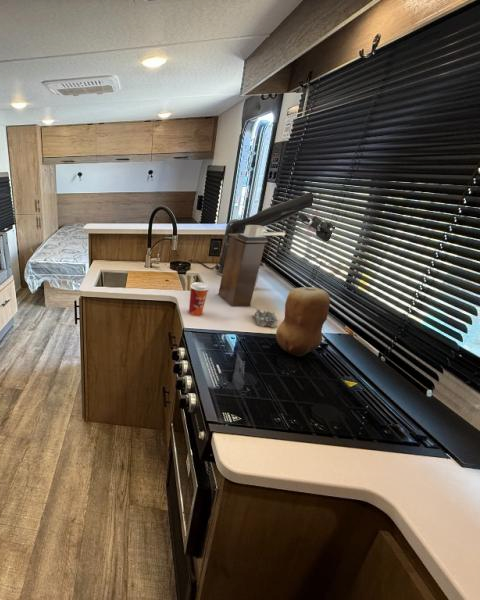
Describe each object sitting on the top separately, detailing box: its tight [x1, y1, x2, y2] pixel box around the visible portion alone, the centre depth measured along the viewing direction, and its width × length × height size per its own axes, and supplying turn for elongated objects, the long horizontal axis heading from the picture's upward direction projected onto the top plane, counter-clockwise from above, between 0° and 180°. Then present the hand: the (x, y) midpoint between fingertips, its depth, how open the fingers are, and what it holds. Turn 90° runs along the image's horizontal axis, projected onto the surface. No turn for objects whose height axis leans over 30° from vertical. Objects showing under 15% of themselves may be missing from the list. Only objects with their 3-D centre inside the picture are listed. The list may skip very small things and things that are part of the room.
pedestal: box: [217, 233, 269, 307], centre depth 148 cm, size 16×10×32 cm, turn 2°
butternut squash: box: [275, 286, 331, 357], centre depth 106 cm, size 14×13×25 cm
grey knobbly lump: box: [253, 307, 279, 328], centre depth 132 cm, size 11×8×4 cm
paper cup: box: [188, 281, 210, 317], centre depth 138 cm, size 8×8×14 cm
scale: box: [238, 234, 269, 241], centre depth 137 cm, size 8×10×2 cm
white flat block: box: [244, 225, 286, 237], centre depth 137 cm, size 7×18×4 cm, turn 92°
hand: (306, 216), depth 138 cm, fingers open, 8 cm apart
